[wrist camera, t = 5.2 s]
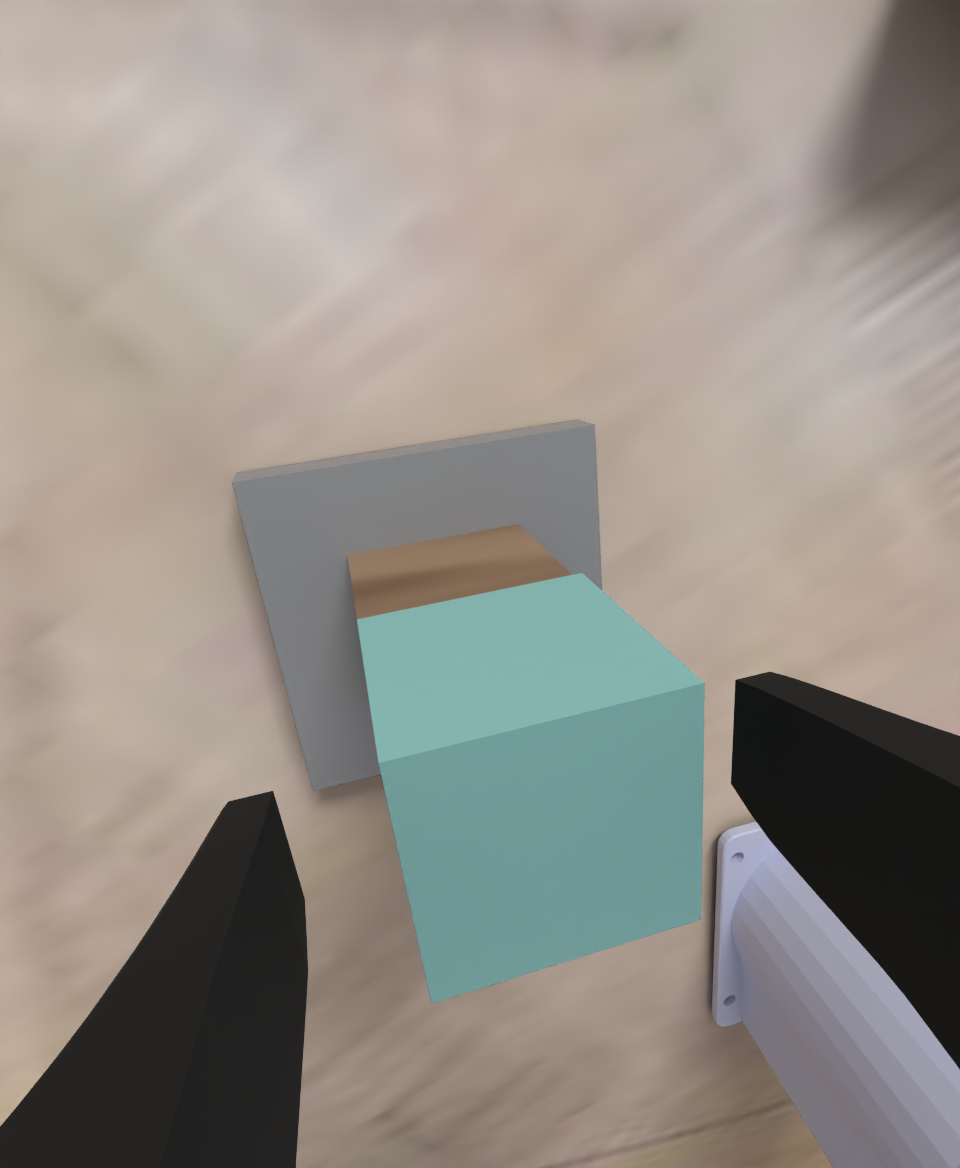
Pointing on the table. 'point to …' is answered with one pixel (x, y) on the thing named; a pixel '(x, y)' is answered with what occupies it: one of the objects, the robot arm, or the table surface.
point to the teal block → (535, 777)
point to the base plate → (387, 519)
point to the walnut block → (448, 569)
